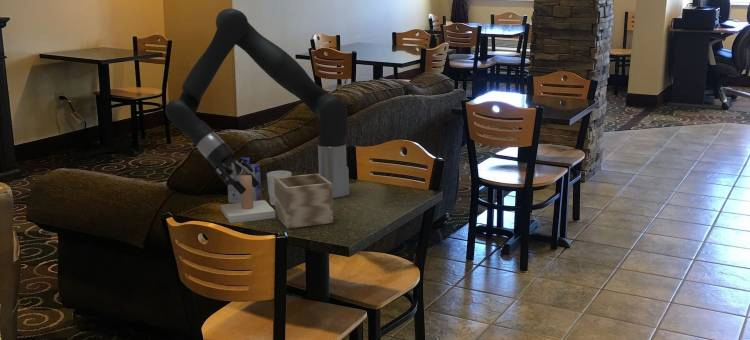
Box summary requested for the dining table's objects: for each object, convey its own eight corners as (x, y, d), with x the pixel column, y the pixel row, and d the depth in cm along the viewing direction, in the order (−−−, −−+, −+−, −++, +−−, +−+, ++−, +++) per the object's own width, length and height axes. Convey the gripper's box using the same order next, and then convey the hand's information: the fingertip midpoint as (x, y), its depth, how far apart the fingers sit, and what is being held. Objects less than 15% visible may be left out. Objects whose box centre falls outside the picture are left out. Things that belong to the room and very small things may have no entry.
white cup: (296, 201, 266) (295, 171, 263) (286, 207, 258) (285, 176, 256) (274, 199, 268) (273, 170, 266) (264, 205, 261) (262, 175, 259)
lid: (264, 203, 259) (263, 169, 257) (275, 214, 247) (273, 178, 244) (220, 208, 255) (218, 173, 252) (229, 220, 242) (227, 183, 239)
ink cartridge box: (262, 200, 268) (260, 157, 265) (256, 204, 263) (254, 160, 259) (234, 198, 270) (231, 156, 267) (228, 203, 265) (225, 159, 261)
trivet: (265, 206, 260) (265, 203, 259) (275, 217, 247) (275, 214, 247) (221, 211, 255) (221, 208, 255) (229, 223, 242) (229, 220, 242)
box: (319, 210, 254) (318, 173, 251) (333, 222, 241) (332, 183, 238) (275, 216, 249) (274, 178, 246) (287, 228, 236) (285, 188, 233)
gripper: (210, 146, 242) (246, 186, 240) (233, 138, 255) (268, 175, 254) (196, 163, 245) (232, 202, 243) (220, 153, 258) (254, 191, 256)
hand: (250, 188), depth 248 cm, fingers open, 8 cm apart
